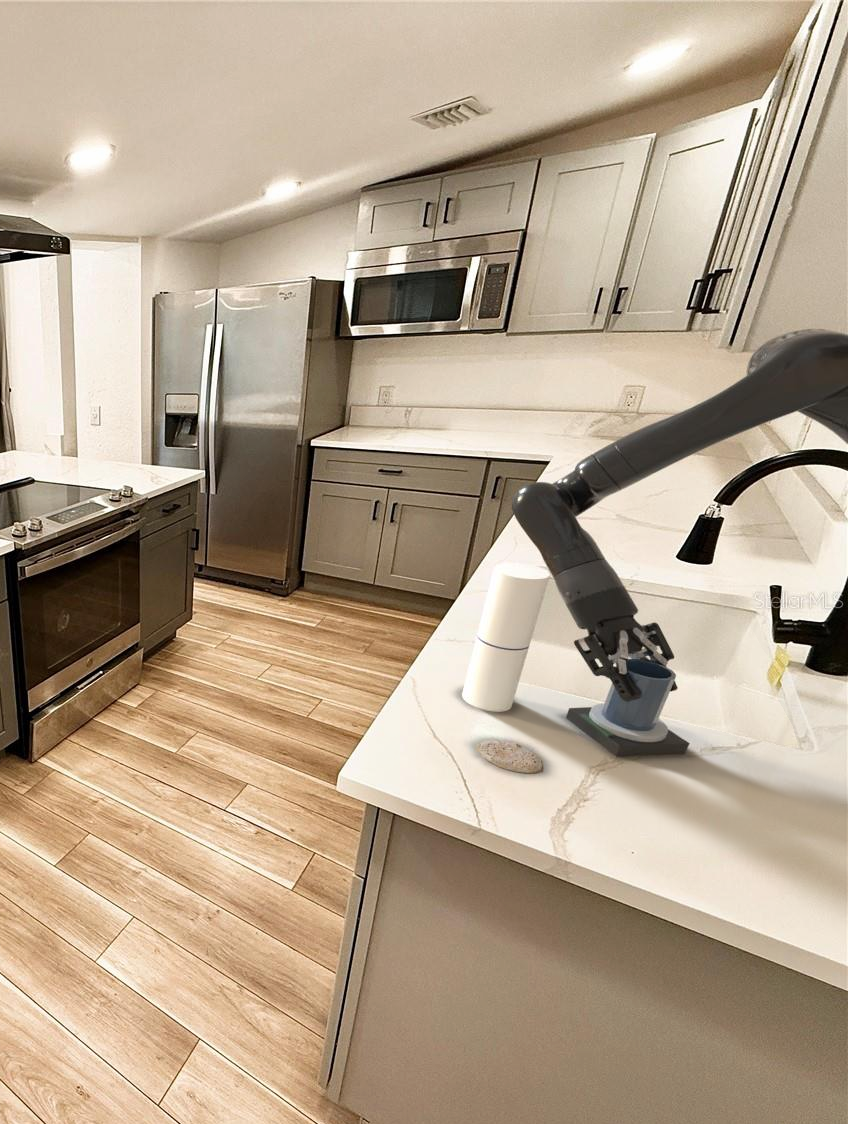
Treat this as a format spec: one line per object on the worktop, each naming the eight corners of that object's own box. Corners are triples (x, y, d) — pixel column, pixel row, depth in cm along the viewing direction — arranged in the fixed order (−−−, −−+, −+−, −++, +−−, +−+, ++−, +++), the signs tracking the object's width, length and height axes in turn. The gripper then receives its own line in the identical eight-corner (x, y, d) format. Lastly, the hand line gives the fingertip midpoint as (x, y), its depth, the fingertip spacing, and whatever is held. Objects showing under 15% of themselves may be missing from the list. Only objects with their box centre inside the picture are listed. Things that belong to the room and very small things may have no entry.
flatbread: (539, 752, 94) (541, 747, 94) (543, 782, 88) (545, 776, 88) (476, 737, 98) (477, 732, 98) (476, 764, 93) (477, 759, 92)
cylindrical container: (455, 703, 107) (488, 571, 97) (469, 687, 111) (501, 559, 101) (503, 719, 102) (543, 582, 92) (516, 702, 106) (555, 569, 96)
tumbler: (631, 706, 98) (650, 657, 94) (666, 730, 92) (688, 679, 88) (591, 708, 98) (608, 659, 94) (623, 731, 92) (643, 681, 89)
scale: (626, 718, 101) (634, 700, 99) (683, 757, 91) (692, 737, 90) (564, 721, 101) (570, 702, 100) (614, 760, 92) (622, 740, 90)
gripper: (579, 591, 92) (639, 699, 86) (652, 578, 95) (716, 681, 89) (536, 609, 99) (589, 710, 93) (606, 596, 102) (662, 693, 96)
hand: (651, 695), depth 91 cm, fingers closed on tumbler, 6 cm apart
